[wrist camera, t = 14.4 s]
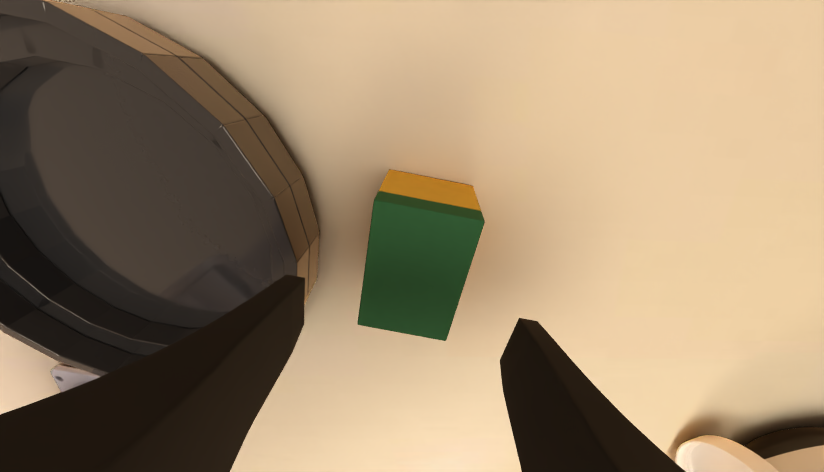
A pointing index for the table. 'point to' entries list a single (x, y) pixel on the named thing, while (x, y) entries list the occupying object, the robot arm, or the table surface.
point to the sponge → (418, 254)
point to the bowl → (132, 189)
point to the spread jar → (756, 453)
